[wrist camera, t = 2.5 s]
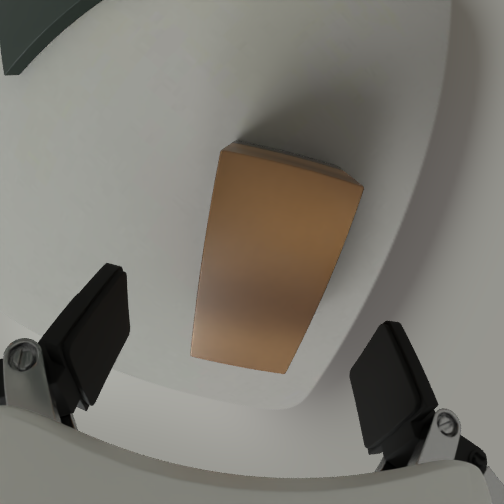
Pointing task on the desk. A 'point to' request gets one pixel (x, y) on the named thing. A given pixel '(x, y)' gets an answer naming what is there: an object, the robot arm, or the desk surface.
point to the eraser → (268, 254)
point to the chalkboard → (34, 27)
